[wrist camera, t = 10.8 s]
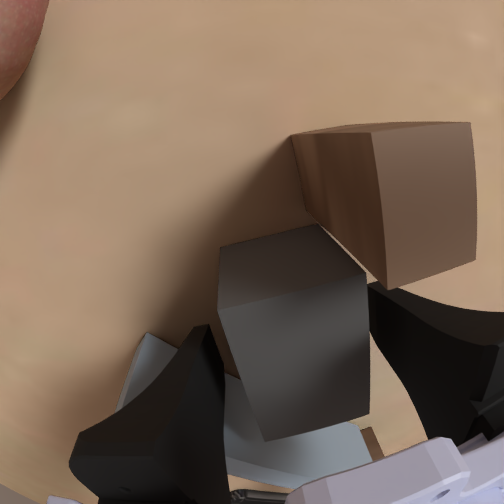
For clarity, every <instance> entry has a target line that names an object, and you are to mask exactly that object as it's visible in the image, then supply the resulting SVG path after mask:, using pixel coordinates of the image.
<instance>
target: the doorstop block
mask: <svg viewBox="0 0 504 504" xmlns="http://www.w3.org/2000/svg"><path fill="white" fill-rule="evenodd" d="M217 311H218V314H219V317H220V320H221V323H222V326H223V329H224V332H225V335H226V338H227V341H228V344H229V347H230V350H231V352H232V355H233V358H234V361H235V364H236V367H237V369H238V372H239V375H240V378H241V381H242V383H243V386H244V389H245V392H246V394H247V397H248V400H249V402H250V405H251V408H252V410H253V413H254V416H255V418H256V421H257V423H258V426H259V429H260V431H261V434H262V436H263V439H264V441H265V442H268V441H273V440H277V439H282V438H287V437H291V436H295V435H299V434H303V433H307V432H311V431H315V430H319V429H322V428H326V427H330V426H333V425H336V424H340V423H343V422H346V421H349V420H353V419H356V418H359V417H362V416H365V415H368V414H369V410H370V333H369V310H368V293H367V279H366V272H365V271H364V270H363V269H362V268H361V267H360V266H359V265H358V264H357V263H356V262H355V261H354V260H353V259H352V258H351V257H350V256H349V255H348V254H347V253H346V252H345V251H344V249H343V248H342V247H341V246H340V245H339V244H338V243H337V242H336V241H335V240H334V239H333V238H332V237H331V236H330V235H329V234H327V233H326V232H325V231H324V230H323V229H322V228H321V227H320V226H319V225H318V224H315V225H311V226H307V227H302V228H298V229H294V230H290V231H286V232H282V233H278V234H274V235H269V236H265V237H261V238H257V239H253V240H249V241H245V242H241V243H237V244H233V245H229V246H225V247H220V262H219V282H218V303H217Z"/></svg>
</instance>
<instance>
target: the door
mask: <svg viewBox="0 0 504 504" xmlns="http://www.w3.org/2000/svg"><path fill="white" fill-rule="evenodd" d="M177 351H178V349H177V348H175V347H173V346H171V345H169V344H167V343H166V342H164V341H162V340H160V339H158V338H157V337H155V336H153V335H151V334H149V333H148V332H147V333H146V335H145V336H144V338H143V339H142V341H141V343H140V344H139V346H138V347H137V349H136V352H135V355H134V357H133V360H132V363H131V366H130V369H129V371H128V374H127V377H126V380H125V383H124V386H123V389H122V392H121V395H120V398H119V401H118V404H117V407H116V410H115V413H116V412H117V411H119V410H120V409H122V408H123V407H124V406H126V405H127V404H128V403H129V402H131V401H132V400H133V399H134V398H135V397H137V396H138V395H139V394H140V393H141V392H143V391H144V390H145V389H146V388H147V387H148V386H149V385H150V384H151V383H152V382H153V381H154V380H155V379H156V377H157V376H158V375H159V374H160V373H161V372H162V370H163V369H164V368H165V367H166V365H167V364H168V363H169V362H170V360H171V359H172V358H173V357H174V355H175V354H176V352H177ZM224 373H225V372H224ZM225 384H226V386H225V411H224V447H225V458H226V467H227V474H229V475H233V476H237V477H241V478H245V479H249V480H253V481H257V482H261V483H266V484H271V485H276V486H281V487H286V488H291V489H297V488H298V487H300V486H301V485H303V484H304V483H307V482H310V481H313V480H316V479H318V478H321V477H324V476H327V475H331V474H334V473H338V472H341V471H345V470H348V469H351V468H354V467H357V466H361V465H364V464H367V463H369V462H372V459H371V456H370V454H369V451H368V449H367V446H366V444H365V442H364V439H363V437H362V434H361V432H360V429H359V427H358V426H357V425H354V424H351V423H348V422H343V423H340V424H336V425H333V426H330V427H326V428H322V429H319V430H315V431H311V432H307V433H303V434H299V435H295V436H291V437H287V438H282V439H277V440H273V441H268V442H265V441H264V439H263V436H262V434H261V431H260V429H259V426H258V423H257V421H256V418H255V416H254V413H253V410H252V408H251V405H250V402H249V400H248V397H247V394H246V392H245V389H244V386H243V383H242V381H241V380H240V379H237V378H235V377H233V376H231V375H229V374H227V373H225Z"/></svg>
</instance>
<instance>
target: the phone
mask: <svg viewBox="0 0 504 504" xmlns="http://www.w3.org/2000/svg"><path fill="white" fill-rule="evenodd" d="M288 495H289V493H276V492H265V491H256V490H248V489H239V490H234V491H231V492H230V497H231V503H232V504H285V501H286V498H287V496H288Z"/></svg>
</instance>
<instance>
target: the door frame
mask: <svg viewBox="0 0 504 504" xmlns="http://www.w3.org/2000/svg"><path fill="white" fill-rule="evenodd" d="M291 139H292V144H293V148H294V153H295V157H296V162H297V167H298V172H299V176H300V181H301V186H302V191H303V196H304V202H305V207H306V211H308V212H309V213H310V214H311V215H312V216H313V217H314V218H315V219H316V220H317V221H318V222H319V223H320V224H321V225H322V226H323V227H324V228H326V229H327V230H328V231H329V232H330V233H331V234H332V235H333V236H334V237H335V238H336V239H337V240H338V241H339V242H340V243H341V244H342V245H343V246H344V247H345V248H346V249H347V250H348V251H349V252H350V253H351V254H352V255H353V256H354V257H355V258H356V259H357V260H358V261H359V262H360V263H361V264H362V265H363V266H364V267H365V268H366V269H367V270H368V271H369V272H370V273H371V274H372V275H373V276H374V277H375V278H376V279H377V280H378V281H379V282H380V283H381V284H382V285H383V286H384V287H385V288H386V289H387V290H391V289H394V288H397V287H400V286H403V285H406V284H409V283H412V282H415V281H418V280H421V279H424V278H427V277H430V276H433V275H436V274H439V273H441V272H444V271H447V270H450V269H453V268H455V267H458V266H461V265H464V264H466V263H469V262H472V261H474V260H476V243H477V189H476V171H475V158H474V148H473V139H472V131H471V123H470V122H389V123H370V124H354V125H345V126H339V127H332V128H326V129H320V130H315V131H309V132H303V133H298V134H293V135H291ZM360 432H361V434H362V437H363V439H364V442H365V444H366V446H367V449H368V451H369V454H370V456H371V459H372V461H375V460H378V459H381V458H383V457H385V456H384V454H383V452H382V450H381V447H380V445H379V443H378V441H377V438H376V436H375V434H374V432H373V430H372V427H369V428H366V429H363V430H360Z"/></svg>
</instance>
